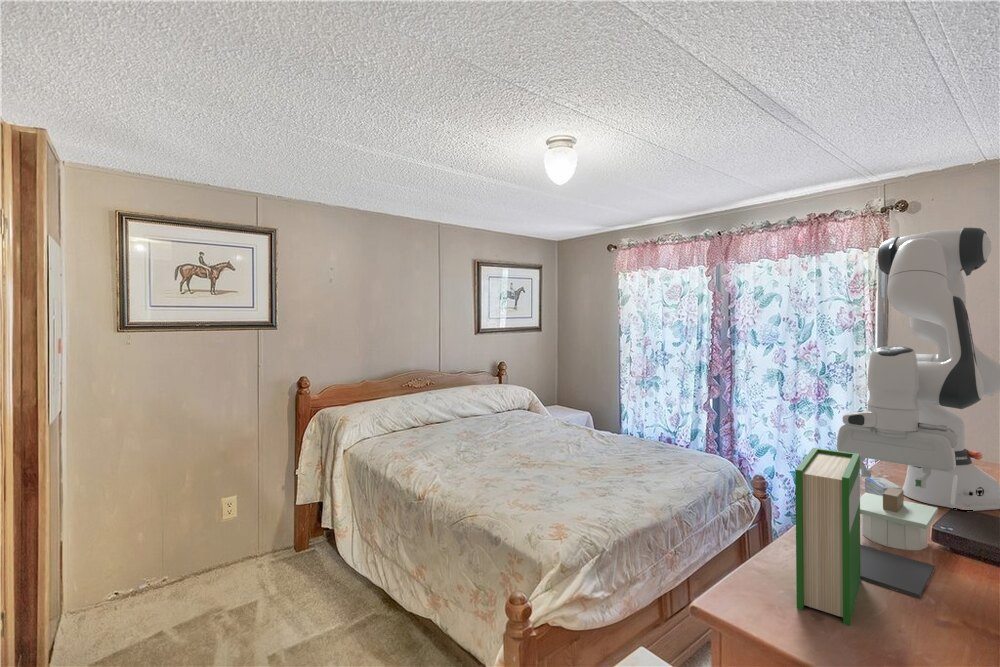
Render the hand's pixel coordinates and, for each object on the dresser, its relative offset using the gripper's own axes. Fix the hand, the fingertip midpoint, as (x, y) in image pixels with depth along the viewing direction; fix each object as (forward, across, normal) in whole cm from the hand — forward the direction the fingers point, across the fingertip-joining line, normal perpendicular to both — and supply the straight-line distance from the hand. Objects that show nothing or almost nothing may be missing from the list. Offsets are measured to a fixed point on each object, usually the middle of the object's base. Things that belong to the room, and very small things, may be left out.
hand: (892, 482), depth 105 cm
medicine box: (+13, +4, -14) cm, 19 cm away
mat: (+13, -1, +17) cm, 21 cm away
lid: (+7, 0, -1) cm, 7 cm away
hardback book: (+14, +2, +34) cm, 37 cm away
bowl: (+13, 0, -1) cm, 13 cm away
